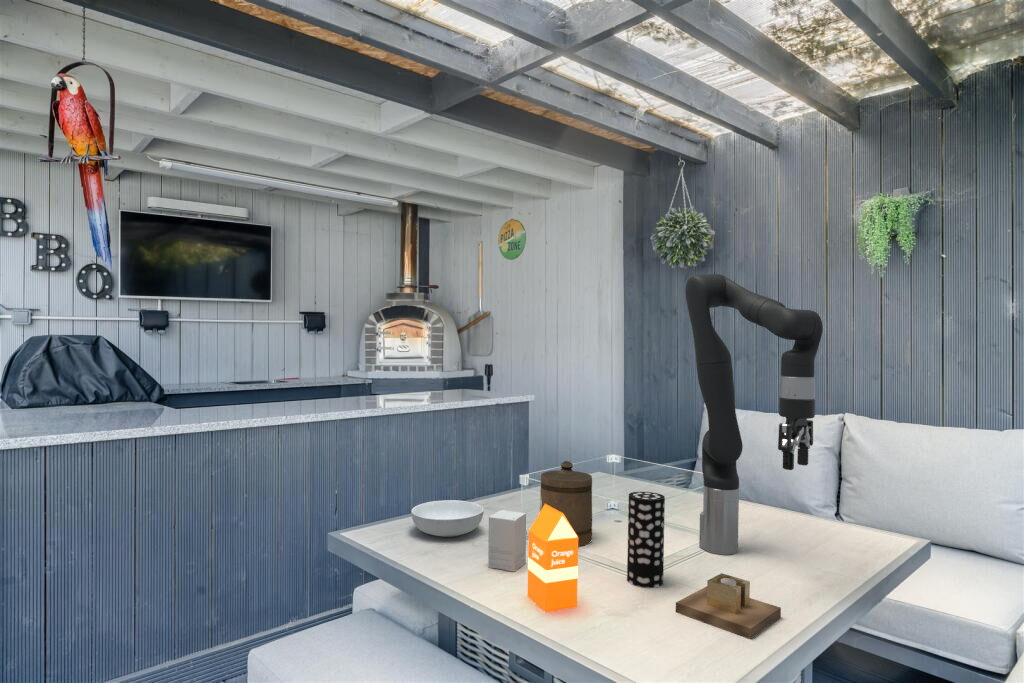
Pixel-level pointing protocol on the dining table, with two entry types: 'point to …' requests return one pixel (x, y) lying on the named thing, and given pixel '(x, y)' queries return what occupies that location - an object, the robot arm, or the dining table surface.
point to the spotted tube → (645, 539)
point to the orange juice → (552, 561)
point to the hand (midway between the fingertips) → (795, 467)
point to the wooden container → (570, 498)
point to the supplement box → (507, 540)
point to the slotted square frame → (728, 594)
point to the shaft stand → (741, 623)
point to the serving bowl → (447, 517)
